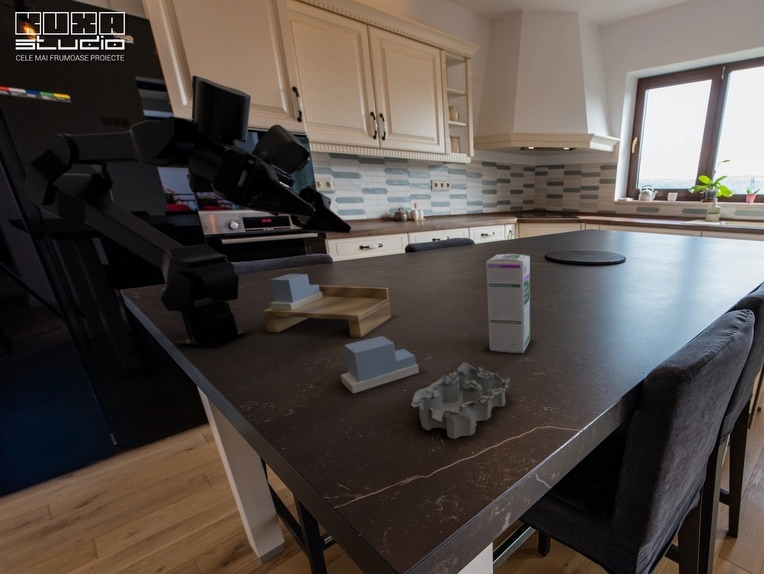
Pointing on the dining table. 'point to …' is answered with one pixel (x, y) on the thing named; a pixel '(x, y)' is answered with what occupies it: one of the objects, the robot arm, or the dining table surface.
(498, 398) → the egg carton
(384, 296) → the shoe shelf
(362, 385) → the trainer
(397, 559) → the dining table surface
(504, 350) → the syrup box
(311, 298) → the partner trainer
